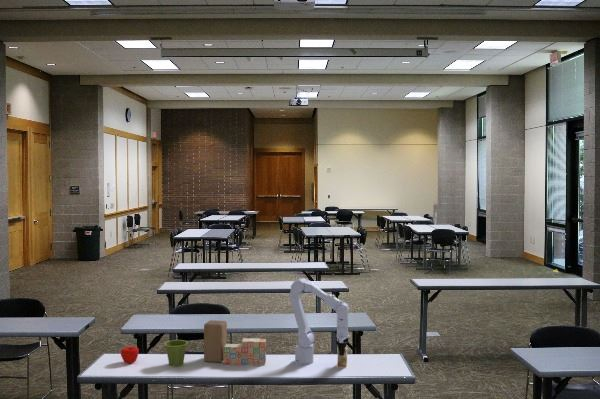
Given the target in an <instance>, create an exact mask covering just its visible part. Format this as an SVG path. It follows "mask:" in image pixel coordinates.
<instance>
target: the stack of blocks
mask: <svg viewBox="0 0 600 399" xmlns="http://www.w3.org/2000/svg"><path fill="white" fill-rule="evenodd" d="M266 362H267V339H266V338H244V337H243V338H242V340H241V343H227V344H226V345H225V347H224V360H223V363H224V365H231V366H233V365H234V366H235V365H237V366H238V365H239V366H240V365H243V366H246V365H247V366H265V365H266Z"/></svg>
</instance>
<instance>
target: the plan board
mask: <svg viewBox="0 0 600 399" xmlns="http://www.w3.org/2000/svg"><path fill="white" fill-rule="evenodd" d="M349 367H350V364H349V363H347V367H338V362H336V365H335V368H342V369H343V368H345V369H349Z"/></svg>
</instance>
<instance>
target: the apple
mask: <svg viewBox="0 0 600 399" xmlns="http://www.w3.org/2000/svg"><path fill="white" fill-rule="evenodd" d="M139 350H140V349H139V348H138V347H137V346H126V347H123V348H121V350H120V358H121V359H122V361H123V362H124V363H125V364H133V363H135V362H136V361H137V359H138V356H139Z"/></svg>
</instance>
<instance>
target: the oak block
mask: <svg viewBox="0 0 600 399" xmlns="http://www.w3.org/2000/svg"><path fill="white" fill-rule="evenodd" d="M337 363H338V367H337V368H339V367H347V364H348V357H347V358H338V357H337Z"/></svg>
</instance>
